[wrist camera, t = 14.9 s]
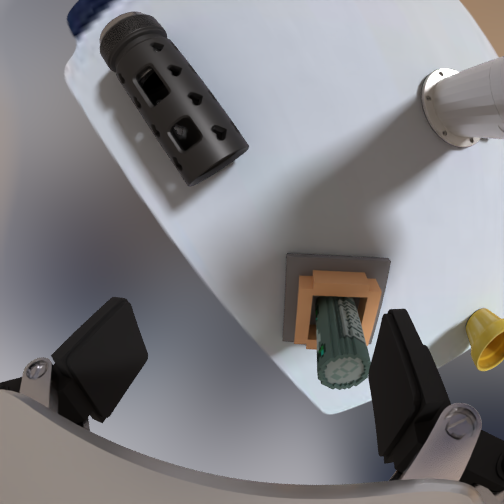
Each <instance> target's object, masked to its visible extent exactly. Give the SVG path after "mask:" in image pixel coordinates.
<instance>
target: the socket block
mask: <svg viewBox="0 0 504 504" xmlns="http://www.w3.org/2000/svg"><path fill="white" fill-rule="evenodd" d="M390 263H391V261H390V260H389V258H373V257H352V256H332V255H312V254H291V253H287V265H286V289H285V309H284V326H283V341H289V342H294V344H306V349H317V337H316V312H315V304H316V303H317V302H316V299H317V298H318V297H319V296H338V297H353V298H354V300H355V304H356V307H357V311H358V315H359V318H360V322H361V326H362V329H363V333H364V337H365V341H366V345H367V346H368V344H371V342H372V338H373V335H374V332H375V328H376V324H377V321H378V317H379V313H380V309H381V305H382V301H383V297H384V292H385V288H386V283H387V278H388V273H389V268H390Z"/></svg>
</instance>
